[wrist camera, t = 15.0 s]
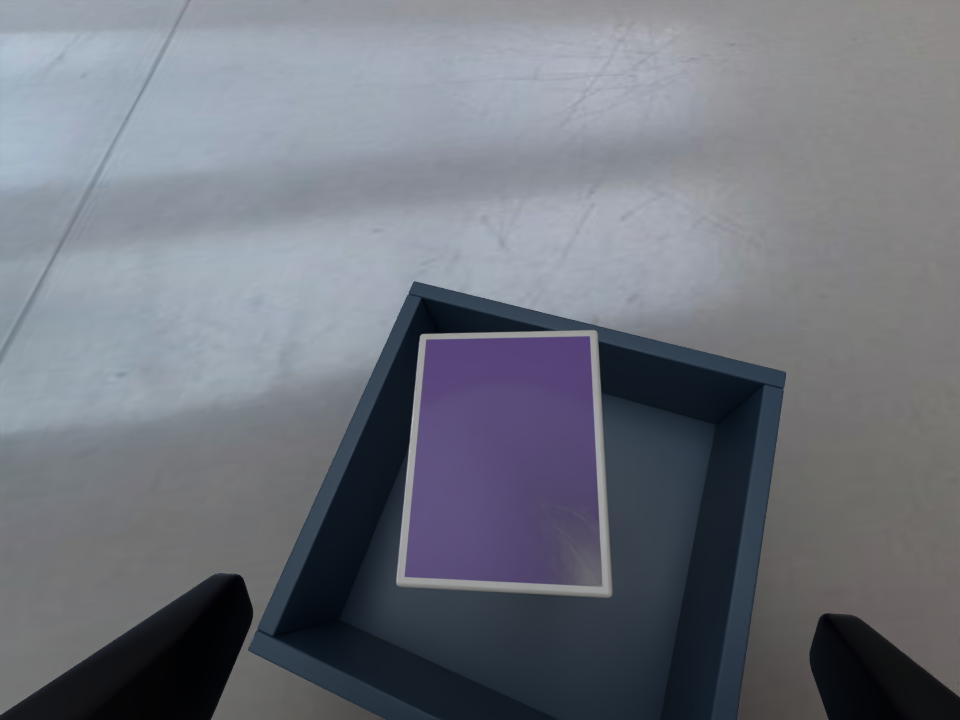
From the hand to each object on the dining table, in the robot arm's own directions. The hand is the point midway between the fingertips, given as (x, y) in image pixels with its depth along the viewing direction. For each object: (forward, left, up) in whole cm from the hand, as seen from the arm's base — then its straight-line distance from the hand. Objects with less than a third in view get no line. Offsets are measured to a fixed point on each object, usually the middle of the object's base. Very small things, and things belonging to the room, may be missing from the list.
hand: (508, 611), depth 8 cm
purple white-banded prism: (+2, +1, -12) cm, 12 cm away
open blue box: (+2, +1, -13) cm, 13 cm away
